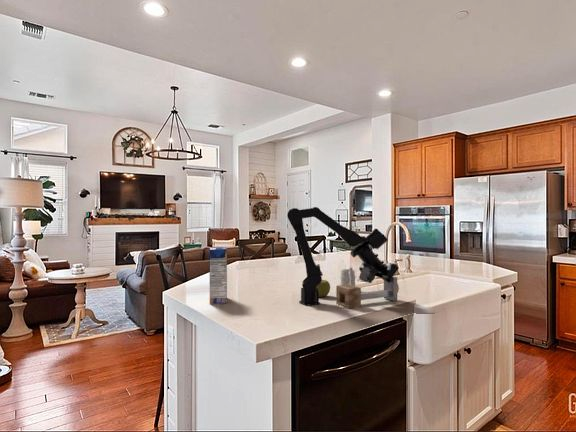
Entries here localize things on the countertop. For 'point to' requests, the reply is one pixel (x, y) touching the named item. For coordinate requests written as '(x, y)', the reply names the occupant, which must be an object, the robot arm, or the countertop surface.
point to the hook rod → (384, 291)
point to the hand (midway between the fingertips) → (389, 281)
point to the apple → (323, 288)
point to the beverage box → (218, 275)
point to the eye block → (348, 296)
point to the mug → (348, 277)
